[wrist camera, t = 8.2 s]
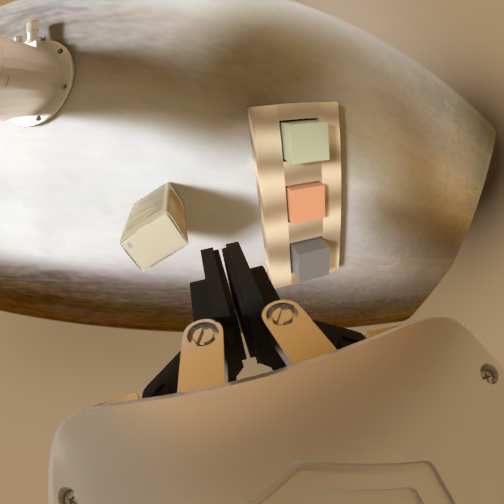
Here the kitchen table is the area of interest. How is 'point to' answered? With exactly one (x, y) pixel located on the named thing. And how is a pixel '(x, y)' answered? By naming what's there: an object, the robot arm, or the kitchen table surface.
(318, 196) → the terracotta key
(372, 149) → the kitchen table surface
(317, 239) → the charcoal key
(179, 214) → the skincare box
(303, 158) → the sage key
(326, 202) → the board
